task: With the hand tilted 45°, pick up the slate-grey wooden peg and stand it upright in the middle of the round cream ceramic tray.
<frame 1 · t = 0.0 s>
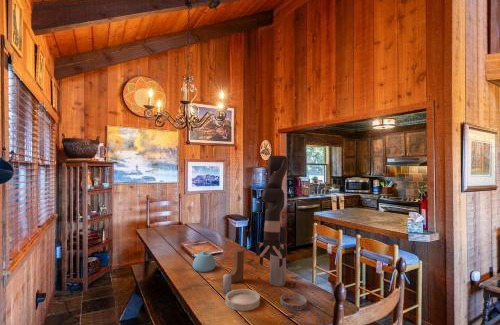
hand: (270, 266, 133), 22 cm above the table, tool pointing down, fingers open, 8 cm apart
round tray: (242, 302, 145), on the table
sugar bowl: (204, 269, 190), on the table
bracelet: (293, 304, 144), on the table
wooden block: (235, 281, 171), on the table
grey peg: (227, 292, 156), on the table
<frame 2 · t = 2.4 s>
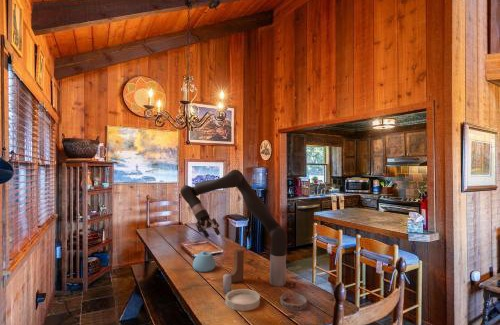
hand: (213, 235, 163), 29 cm above the table, tool tilted 45°, fingers open, 8 cm apart
nothing on the table moved.
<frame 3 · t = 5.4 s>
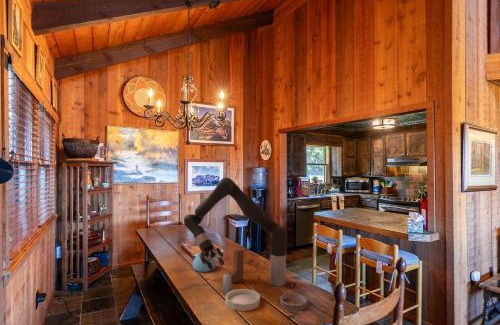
hand: (217, 266, 161), 12 cm above the table, tool tilted 45°, fingers open, 8 cm apart
nothing on the table moved.
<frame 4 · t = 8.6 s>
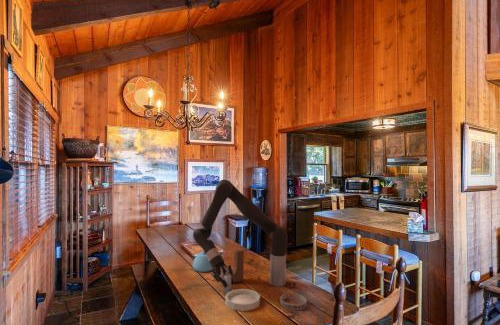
hand: (229, 285, 155), 4 cm above the table, tool tilted 45°, fingers closed on grey peg, 4 cm apart
grey peg: (227, 292, 156), on the table, touching gripper
everything else where it was.
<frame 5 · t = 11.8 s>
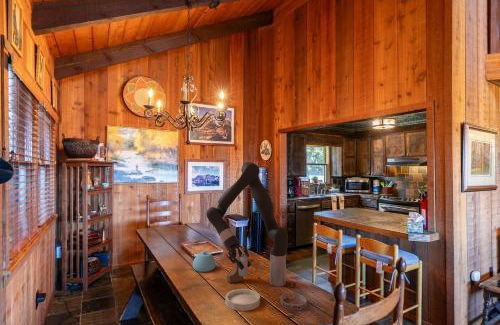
hand: (246, 267, 144), 18 cm above the table, tool tilted 45°, fingers closed on grey peg, 4 cm apart
grey peg: (243, 274, 145), point 14 cm above the table, touching gripper
everything else where it was.
when the fingers open (7 cm above the table, at t = 15.2 s): grey peg drops 1 cm, resting on round tray.
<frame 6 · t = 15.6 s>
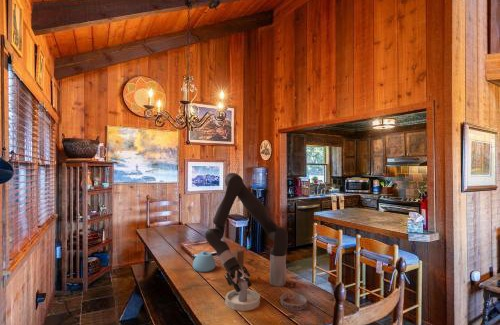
hand: (245, 288, 144), 7 cm above the table, tool tilted 45°, fingers open, 8 cm apart
grey peg: (242, 300, 145), point 1 cm above the table, touching round tray
everything else where it was.
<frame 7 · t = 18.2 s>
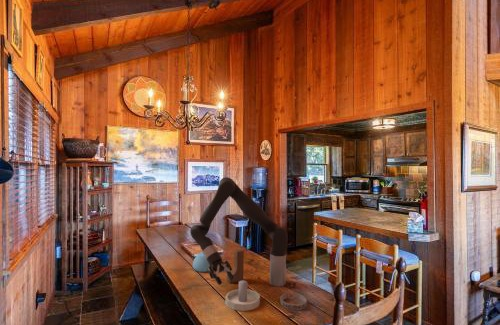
hand: (226, 281, 152), 7 cm above the table, tool tilted 45°, fingers open, 8 cm apart
nothing on the table moved.
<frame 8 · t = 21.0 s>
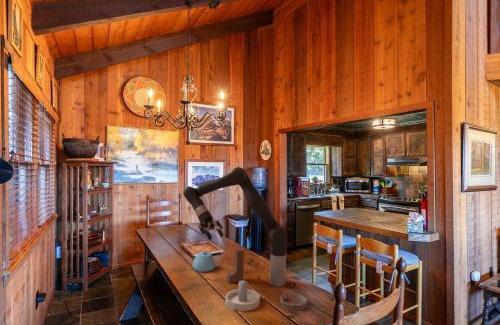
hand: (216, 237, 159), 29 cm above the table, tool tilted 45°, fingers open, 8 cm apart
nothing on the table moved.
at the end: grey peg inside the target area on the round tray (0.1 cm from its centre), point 1.0 cm above the round tray's base; grey peg tilted 0°; the gripper is holding nothing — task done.
